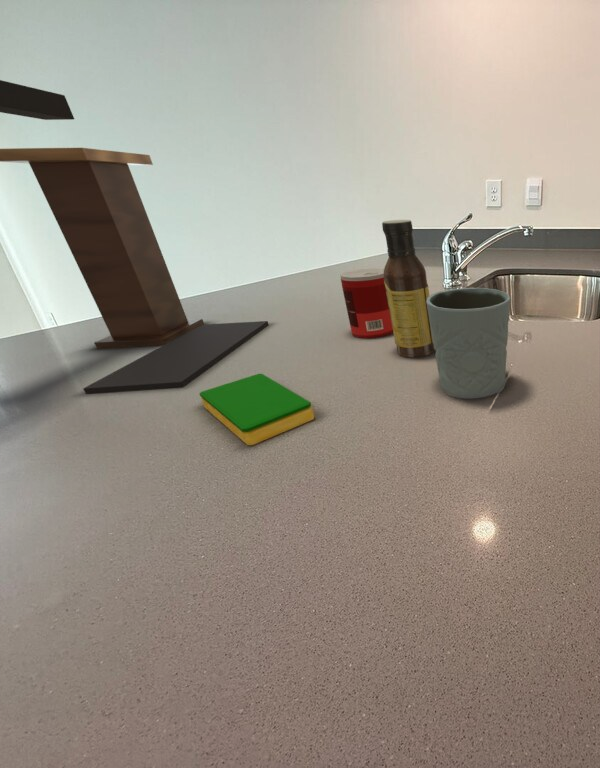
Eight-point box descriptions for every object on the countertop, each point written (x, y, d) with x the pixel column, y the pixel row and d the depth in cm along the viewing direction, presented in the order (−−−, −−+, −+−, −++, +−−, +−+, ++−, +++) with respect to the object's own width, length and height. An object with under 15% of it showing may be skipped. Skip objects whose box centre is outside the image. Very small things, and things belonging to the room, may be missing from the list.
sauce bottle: (413, 344, 69) (396, 218, 60) (444, 349, 67) (430, 218, 58) (387, 357, 64) (365, 221, 55) (419, 363, 62) (400, 222, 53)
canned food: (405, 329, 77) (396, 269, 72) (376, 342, 70) (364, 278, 65) (373, 324, 80) (363, 267, 75) (343, 337, 73) (329, 275, 68)
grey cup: (470, 365, 60) (464, 284, 55) (527, 381, 55) (527, 293, 50) (419, 391, 53) (407, 300, 48) (479, 412, 48) (473, 312, 42)
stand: (166, 348, 70) (81, 147, 57) (89, 353, 69) (-15, 148, 55) (210, 324, 82) (149, 154, 69) (146, 327, 81) (72, 156, 68)
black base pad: (184, 389, 55) (180, 381, 54) (87, 396, 54) (82, 388, 53) (269, 326, 80) (267, 320, 79) (204, 330, 79) (202, 324, 78)
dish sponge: (250, 449, 42) (242, 429, 41) (204, 409, 50) (197, 391, 49) (316, 420, 47) (311, 402, 46) (266, 388, 55) (260, 372, 54)
